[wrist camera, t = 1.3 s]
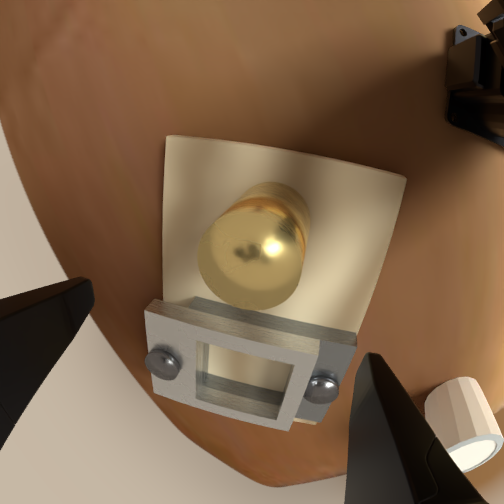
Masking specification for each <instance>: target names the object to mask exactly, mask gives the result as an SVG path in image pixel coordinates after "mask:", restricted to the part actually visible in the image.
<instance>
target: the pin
mask: <svg viewBox="0 0 504 504" xmlns="http://www.w3.org/2000/svg"><path fill="white" fill-rule="evenodd" d="M310 223H311V217H310V211H309V208H308V206H307V203H306V202H305V200H304V199H303V197H302V196H301V195H300V194H299V193H298V192H297V191H296V190H294V189H293V188H291V187H290V186H288V185H285V184H282V183H278V182H264V183H260V184H257V185H255V186H253V187H251V188H250V189H248V190H247V191H246V192H245V193H244V194H243V195H242V196H241V197H240V198H239V199H238V200H237V201H235V202H234V203H233V204H232V205H231V206H230V207H229V208H228V209H227V210H226V211H225V212H224V213H223V214H222V215H221V216H220V217H219V218H218V219H217V220H216V221H215V222H214V223H213V224H212V225H211V226H210V227H209V228H208V229H207V230H206V231H205V233H204V234H203V236H202V238H201V240H200V242H199V246H198V251H197V262H198V267H199V271H200V274H201V276H202V278H203V280H204V282H205V284H206V285H207V286H208V288H209V289H210V290H211V291H212V292H213V293H214V294H215V295H216V296H217V297H218V298H220V299H221V300H223V301H224V302H226V303H228V304H230V305H232V306H234V307H237V308H240V309H245V310H254V311H256V310H266V309H270V308H273V307H276V306H278V305H280V304H281V303H283V302H285V301H286V300H287V299H288V298H289V297H290V296H291V295H292V294H293V293H294V291H295V290H296V288H297V286H298V284H299V281H300V278H301V273H302V268H303V263H304V257H305V252H306V247H307V241H308V235H309V230H310Z"/></svg>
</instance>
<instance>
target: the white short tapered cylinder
mask: <svg viewBox="0 0 504 504" xmlns="http://www.w3.org/2000/svg"><path fill="white" fill-rule="evenodd" d="M424 405H425V419H426V421H427V422H428V424H429V425H430V427H431V428H432V430H433V431H434V433H435V434H436V437H438V439H439V440H440V442H441V443H442V445H443V446H444V448H445V449H446V451H447V452H448V454H449V455H450V457H451V458H452V459H453V461H454V462H455V463H456V465H457V466H458V467H459V468H460V470H461V471H462V472H463V473H465V472H468V471H470V470H472V469H474V468H476V467H478V466H480V465H482V464H484V463H485V462H486V461H488V460H489V459H490V458H492V457H493V456H494V455H495V454H496V453H497V452H498V451H499V450H500V448H501V447H502V444H503V441H504V439H503V437H502V434H501V432H500V429H499V427H498V425H497V422H496V420H495V418H494V416H493V413H492V411H491V409H490V407H489V405H488V402H487V400H486V398H485V396H484V394H483V392H482V390H481V388H480V386H479V384H478V383H477V381H476V380H475V379H473V378H470V377H458V378H455V379H452V380H449V381H446V382H444V383H443V384H441V385H440V386H438V387H436V388H435V389H434V390H433V391H432V392H431V393H430V394H429V395H428V397H427V399H426V401H425V403H424Z"/></svg>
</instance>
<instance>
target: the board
mask: <svg viewBox="0 0 504 504" xmlns="http://www.w3.org/2000/svg"><path fill="white" fill-rule="evenodd" d="M406 181H407V178H406V177H404V176H403V175H400V174H396V173H392V172H388V171H385V170H381V169H377V168H373V167H369V166H364V165H360V164H356V163H352V162H347V161H343V160H338V159H333V158H329V157H324V156H319V155H314V154H309V153H304V152H298V151H293V150H287V149H281V148H275V147H269V146H263V145H256V144H250V143H243V142H235V141H228V140H220V139H211V138H202V137H192V136H182V135H170V136H166V150H165V167H164V190H163V235H162V258H163V301H166V302H169V303H172V304H176V305H179V306H183V307H187V308H188V307H189V305H190V304H191V303H192V301H193V300H194V298H195V297H196V296H197V297H201V298H205V299H209V300H213V301H217V302H221V303H225V304H228V303H226V302H224V301H223V300H221V299H220V298H218V297H217V296H216V295H215V294H214V293H213V292H212V291H211V290H210V289H209V288H208V286H207V285H206V284H205V282H204V280H203V278H202V276H201V274H200V271H199V267H198V262H197V251H198V246H199V242H200V240H201V238H202V236H203V234H204V233H205V231H206V230H207V229H208V228H209V227H210V226H211V225H212V224H213V223H214V222H215V221H216V220H217V219H218V218H219V217H220V216H221V215H222V214H223V213H224V212H225V211H226V210H227V209H228V208H229V207H230V206H231V205H232V204H233V203H234V202H235V201H237V200H238V199H239V198H240V197H241V196H242V195H243V194H244V193H245V192H246V191H247V190H248V189H250V188H251V187H253V186H255V185H257V184H260V183H264V182H278V183H282V184H285V185H288V186H290V187H291V188H293V189H294V190H296V191H297V192H298V193H299V194H300V195H301V196H302V197H303V199H304V200H305V202H306V203H307V206H308V208H309V211H310V217H311V223H310V230H309V235H308V241H307V247H306V252H305V257H304V263H303V268H302V273H301V278H300V281H299V284H298V286H297V288H296V290H295V291H294V293H293V294H292V295H291V296H290V297H289V298H288V299H287V300H286V301H285V302H283V303H281V304H280V305H278V306H276V307H273V308H270V309H266V310H256V311H258V312H262V313H266V314H270V315H275V316H279V317H284V318H288V319H293V320H297V321H302V322H306V323H311V324H316V325H321V326H325V327H330V328H335V329H340V330H345V331H351V332H356V335H357V334H358V331H359V329H360V326H361V323H362V321H363V318H364V316H365V313H366V311H367V308H368V305H369V303H370V300H371V297H372V294H373V292H374V289H375V286H376V283H377V280H378V277H379V274H380V271H381V268H382V265H383V262H384V259H385V256H386V253H387V250H388V247H389V243H390V240H391V237H392V233H393V230H394V226H395V223H396V219H397V216H398V212H399V208H400V205H401V201H402V197H403V193H404V189H405V185H406ZM229 305H230V304H229ZM253 311H254V310H253ZM291 365H292V364H287V363H283V362H278V361H274V360H270V359H266V358H261V357H257V356H253V355H249V354H245V353H241V352H237V351H233V350H230V349H226V348H222V347H219V346H215V345H211V344H209V362H208V373H210V374H213V375H216V376H220V377H224V378H227V379H231V380H235V381H238V382H242V383H246V384H250V385H254V386H258V387H262V388H266V389H271V390H275V391H280V392H283V390H284V387H285V384H286V381H287V378H288V374H289V371H290V368H291ZM293 421H297V422H302V423H308V424H313V425H316V423H317V422H315V421H310V420H304V419H299V418H294V420H293Z"/></svg>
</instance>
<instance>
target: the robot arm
mask: <svg viewBox="0 0 504 504" xmlns="http://www.w3.org/2000/svg"><path fill="white" fill-rule="evenodd" d="M477 15H478V17H479V18H480V20H481V21H482V23H483V24H484V25H485V24H486V26H487V27H488V29H489V31H490V32H491V33H489V34H487V35H483V34H481V33H479V32H477V31H474V30H472V29H470V28H468V27H465V26H463V25H458V26H457V27H455V28H454V32H453V47H451V48H449V50H448V62H447V72H446V81H445V87H446V89H447V90H448V96H447V103H446V110H445V120H446V122H447V123H448V124H450V125H452V126H454V127H457V128H460V129H462V130H465V131H467V132H470V133H472V134H475V135H477V136H480V137H482V138H484V139H487V140H489V141H491V142H494V143H496V144H498V145H500V146H503V147H504V0H492V1H491V2H490V3H489V4H487V5H486V6H485V7H484V8H483V9H482V10H481V11H480V12H479V13H478V14H477ZM460 30H461V31H463V33H464V35H465V36H462V35H461V34H460ZM452 113H454V114H455V116H456V119H455V121H452V119H451V114H452ZM94 302H95V298H94V292H93V286H92V282H91V280H90V279H87V278H85V277H77V278H73V279H70V280H66V281H63V282H59V283H55V284H52V285H49V286H45V287H41V288H38V289H34V290H31V291H27V292H24V293H20V294H17V295H13V296H10V297H7V298H3V299H0V450H1V448H2V447H3V445H4V443H5V441H6V440H7V438H8V436H9V435H10V433H11V431H12V430H13V428H14V426H15V424H16V423H17V421H18V420H19V418H20V416H21V415H22V413H23V412H24V410H25V409H26V407H27V405H28V404H29V402H30V401H31V399H32V398H33V396H34V395H35V393H36V392H37V390H38V389H39V387H40V385H41V384H42V383H43V381H44V380H45V378H46V377H47V375H48V374H49V372H50V371H51V369H52V368H53V367H54V365H55V364H56V362H57V361H58V360H59V358H60V357H61V355H62V354H63V353H64V351H65V350H66V348H67V347H68V346H69V344H70V343H71V342H72V340H73V339H74V337H75V335H76V334H77V332H78V331H79V329H80V327H81V325H82V324H83V322H84V320H85V319H86V317H87V316H88V314H89V312H90V311H91V309H92V307H93V306H94ZM344 504H489V503H487V502H486V501H485V500H484V499H483V497H482V496H481V495H480V494H479V493H478V491H477V490H476V489H475V487H474V486H473V485H472V484H471V482H470V481H469V480H468V479H467V477H466V476H465V475H464V474H463V472H462V471H461V470H460V468H459V467H458V466H457V465H456V463H455V462H454V461H453V459H452V458H451V457H450V455H449V454H448V452H447V451H446V449H445V448H444V446H443V445H442V443H441V442H440V440H439V439H438V437H436V434H435V433H434V431H433V430H432V428H431V427H430V425H429V424H428V422H427V421H426V419H425V418H424V416H423V415H422V413H421V412H420V410H419V409H418V407H417V406H416V405H415V403H414V402H413V400H412V399H411V397H410V396H409V394H408V393H407V391H406V390H405V389H404V387H403V386H402V384H401V383H400V381H399V380H398V379H397V377H396V376H395V374H394V373H393V371H392V370H391V369H390V367H389V366H388V364H387V363H386V362H385V360H384V359H383V357H382V356H381V355H380V354H377V353H371V352H368V353H366V354H365V356H364V358H363V360H362V362H361V364H360V366H359V368H358V371H357V373H356V377H355V385H354V393H353V400H352V407H351V414H350V422H349V444H348V464H347V479H346V491H345V502H344Z"/></svg>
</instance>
